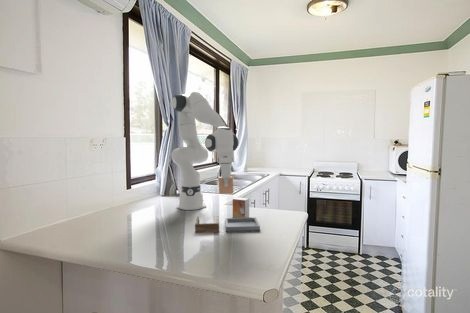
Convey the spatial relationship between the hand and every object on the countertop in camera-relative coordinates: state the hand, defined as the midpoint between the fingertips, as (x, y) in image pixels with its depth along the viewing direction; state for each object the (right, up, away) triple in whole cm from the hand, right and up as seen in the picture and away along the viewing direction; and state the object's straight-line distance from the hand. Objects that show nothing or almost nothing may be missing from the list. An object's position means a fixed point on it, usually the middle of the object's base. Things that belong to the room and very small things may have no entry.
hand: (226, 185), depth 148 cm
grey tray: (+8, -20, -3) cm, 22 cm away
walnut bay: (-9, -20, -4) cm, 23 cm away
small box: (+8, -19, +15) cm, 26 cm away
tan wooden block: (0, -4, 0) cm, 4 cm away
